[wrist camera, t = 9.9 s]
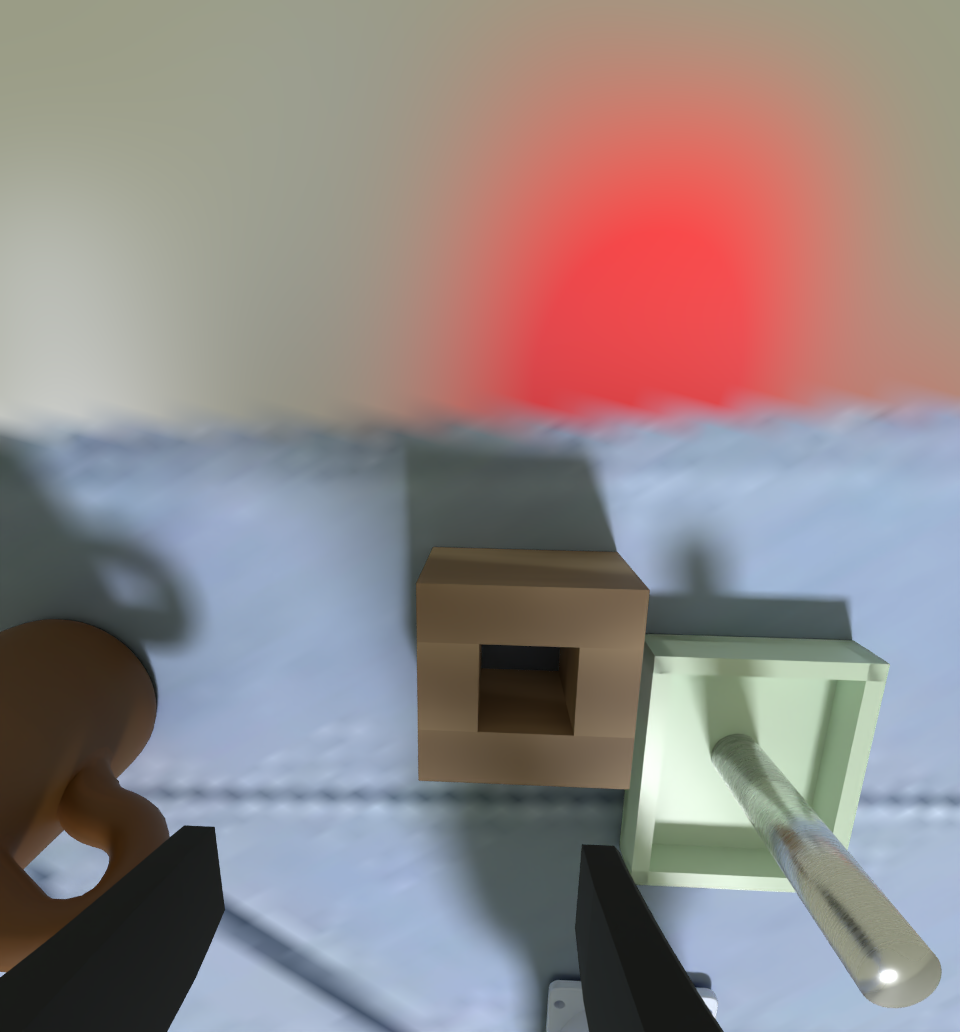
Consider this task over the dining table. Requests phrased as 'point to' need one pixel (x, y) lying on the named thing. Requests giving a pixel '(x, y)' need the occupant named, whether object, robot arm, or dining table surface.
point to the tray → (764, 717)
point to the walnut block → (529, 693)
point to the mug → (68, 767)
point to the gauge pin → (829, 880)
